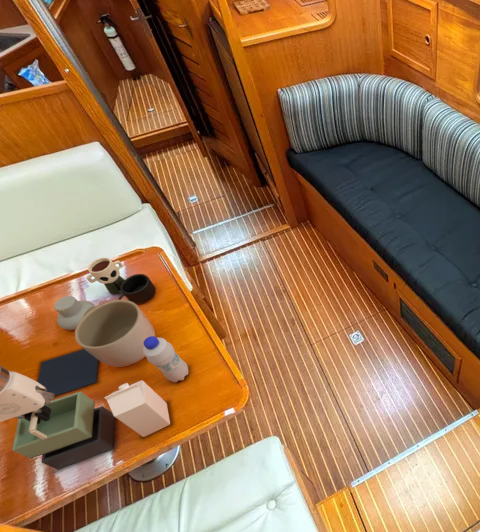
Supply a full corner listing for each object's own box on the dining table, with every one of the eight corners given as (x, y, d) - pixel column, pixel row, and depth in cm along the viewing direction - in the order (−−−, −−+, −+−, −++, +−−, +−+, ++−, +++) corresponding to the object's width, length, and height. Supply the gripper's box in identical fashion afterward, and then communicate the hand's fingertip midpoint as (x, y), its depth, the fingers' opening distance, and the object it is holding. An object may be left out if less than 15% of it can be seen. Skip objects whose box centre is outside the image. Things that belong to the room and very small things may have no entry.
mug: (146, 282, 144) (136, 270, 139) (163, 292, 141) (154, 279, 136) (117, 306, 137) (106, 293, 132) (134, 316, 134) (124, 304, 129)
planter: (104, 383, 118) (73, 358, 107) (103, 339, 128) (75, 312, 117) (164, 360, 123) (141, 333, 112) (159, 319, 133) (138, 291, 122)
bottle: (164, 374, 120) (131, 340, 105) (185, 360, 123) (156, 325, 108) (173, 389, 117) (141, 356, 102) (195, 374, 120) (166, 340, 105)
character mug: (107, 303, 138) (86, 279, 128) (100, 292, 141) (78, 268, 131) (139, 285, 143) (120, 261, 133) (131, 275, 146) (112, 251, 137)
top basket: (31, 458, 95) (-5, 443, 87) (37, 420, 101) (4, 402, 93) (91, 437, 99) (63, 420, 90) (94, 401, 105) (68, 382, 96)
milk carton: (170, 424, 110) (137, 396, 96) (143, 437, 108) (105, 410, 94) (167, 403, 114) (134, 372, 100) (140, 415, 112) (103, 385, 98)
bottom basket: (57, 469, 102) (41, 462, 97) (62, 433, 108) (47, 424, 103) (113, 449, 106) (99, 441, 101) (115, 415, 112) (102, 405, 107)
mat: (34, 403, 114) (33, 402, 114) (42, 362, 122) (41, 362, 122) (96, 382, 118) (96, 382, 118) (99, 345, 127) (99, 344, 126)
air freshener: (83, 335, 129) (64, 317, 122) (60, 332, 130) (39, 315, 122) (103, 308, 136) (87, 290, 129) (81, 306, 137) (63, 288, 130)
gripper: (-69, 414, 76) (1, 445, 90) (26, 384, 80) (79, 418, 94) (-57, 380, 80) (8, 415, 94) (32, 354, 85) (82, 391, 99)
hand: (43, 416), depth 94 cm, fingers closed on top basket, 1 cm apart
